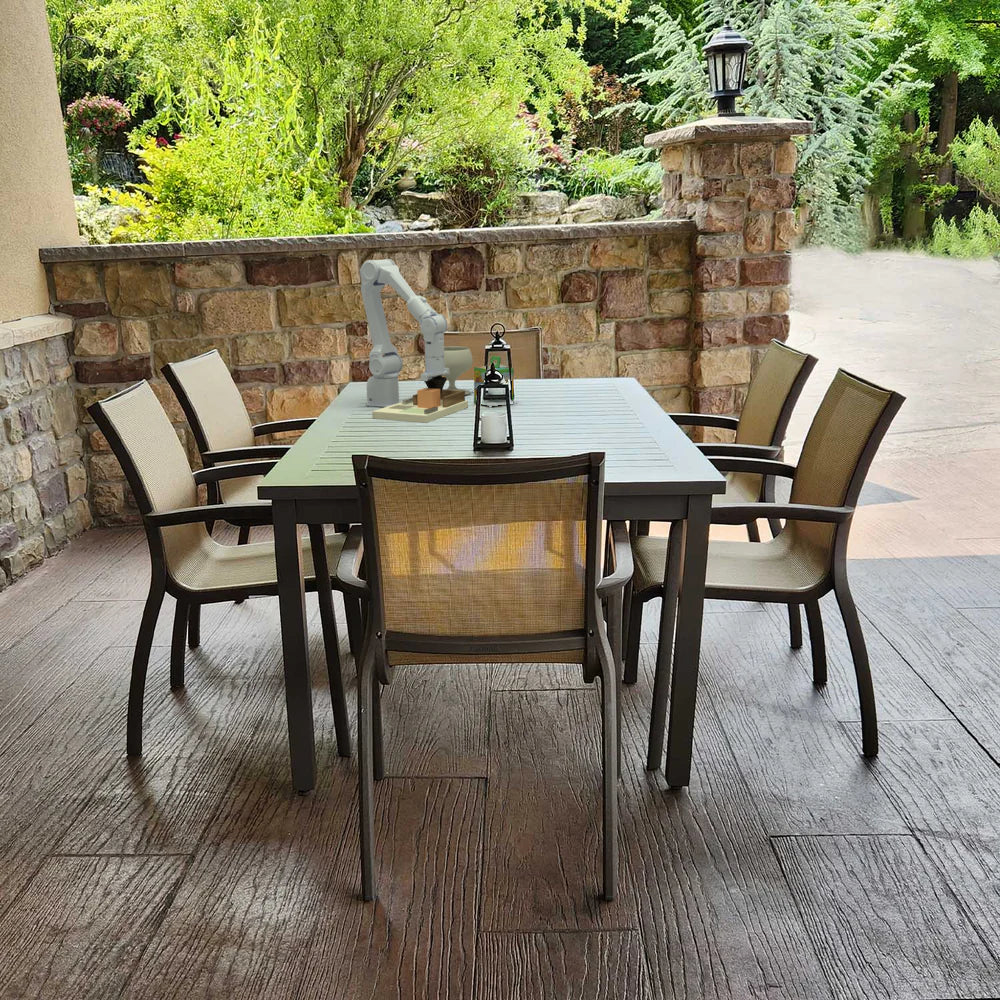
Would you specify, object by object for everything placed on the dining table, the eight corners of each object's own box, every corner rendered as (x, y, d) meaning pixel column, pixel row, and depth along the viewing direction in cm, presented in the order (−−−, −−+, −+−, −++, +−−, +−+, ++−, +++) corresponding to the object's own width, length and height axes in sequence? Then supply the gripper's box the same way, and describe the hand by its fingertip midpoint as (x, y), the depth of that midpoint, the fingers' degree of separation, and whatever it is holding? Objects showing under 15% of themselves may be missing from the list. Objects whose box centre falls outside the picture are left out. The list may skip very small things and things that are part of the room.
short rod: (424, 414, 286) (424, 409, 286) (434, 410, 291) (434, 406, 291) (427, 414, 286) (427, 410, 285) (437, 410, 291) (437, 406, 291)
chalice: (426, 392, 335) (425, 347, 331) (467, 389, 339) (466, 345, 335) (436, 398, 322) (435, 351, 318) (478, 396, 326) (477, 349, 322)
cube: (417, 407, 297) (417, 390, 295) (425, 404, 301) (425, 387, 300) (432, 408, 295) (432, 391, 293) (440, 405, 299) (440, 388, 298)
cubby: (413, 405, 300) (412, 395, 300) (433, 398, 311) (433, 388, 310) (445, 407, 296) (445, 397, 295) (465, 400, 307) (464, 390, 306)
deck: (372, 418, 292) (372, 411, 291) (416, 403, 314) (416, 397, 314) (426, 422, 284) (426, 415, 284) (468, 407, 307) (467, 400, 306)
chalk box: (473, 404, 313) (472, 356, 309) (496, 400, 318) (496, 353, 314) (491, 408, 306) (490, 359, 302) (514, 404, 311) (514, 356, 307)
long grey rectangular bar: (402, 404, 302) (402, 400, 302) (417, 399, 310) (417, 395, 309) (411, 404, 301) (411, 401, 300) (426, 400, 308) (426, 396, 308)
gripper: (434, 360, 290) (436, 406, 294) (457, 353, 303) (458, 398, 306) (413, 358, 293) (415, 404, 296) (437, 352, 305) (438, 397, 309)
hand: (436, 401), depth 301 cm, fingers closed
